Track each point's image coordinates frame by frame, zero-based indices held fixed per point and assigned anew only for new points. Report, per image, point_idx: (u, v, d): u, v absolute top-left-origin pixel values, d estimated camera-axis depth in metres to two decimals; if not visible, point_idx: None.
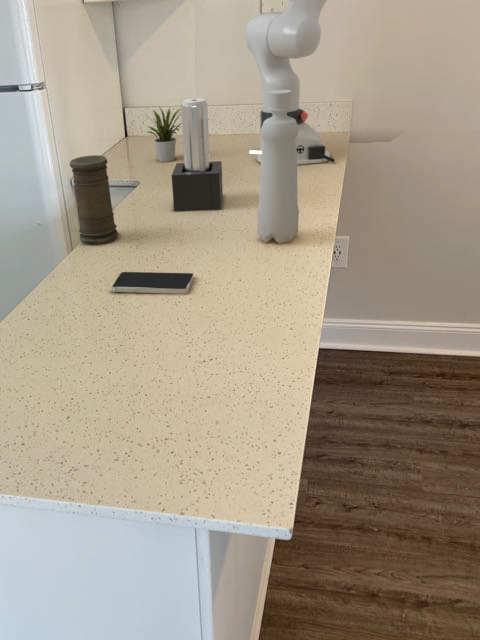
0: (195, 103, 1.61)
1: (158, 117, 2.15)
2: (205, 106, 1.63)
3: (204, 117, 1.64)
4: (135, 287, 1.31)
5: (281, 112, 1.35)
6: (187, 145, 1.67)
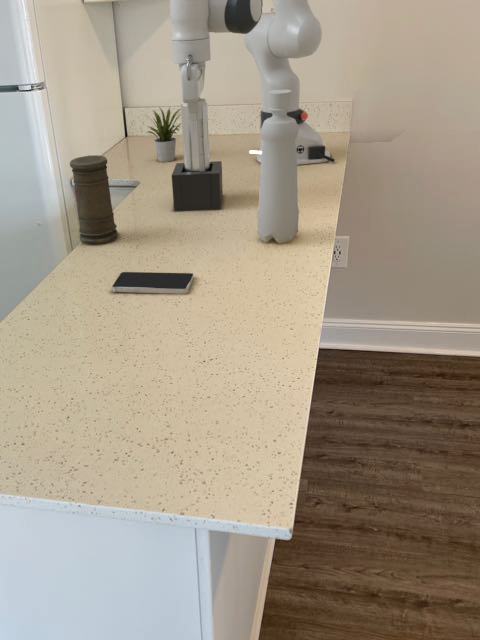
0: None
1: (158, 117, 2.15)
2: (205, 106, 1.63)
3: (204, 117, 1.63)
4: (135, 287, 1.31)
5: (281, 112, 1.35)
6: (187, 145, 1.67)
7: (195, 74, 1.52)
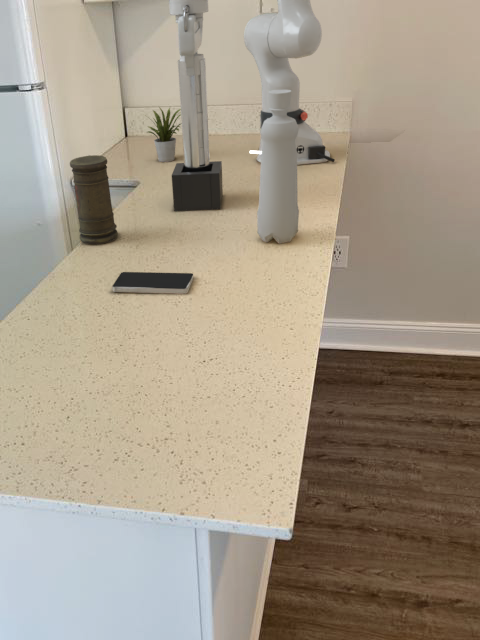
0: None
1: (158, 117, 2.15)
2: (203, 61, 1.57)
3: (202, 73, 1.58)
4: (135, 287, 1.31)
5: (281, 112, 1.35)
6: (185, 103, 1.62)
7: (192, 25, 1.46)
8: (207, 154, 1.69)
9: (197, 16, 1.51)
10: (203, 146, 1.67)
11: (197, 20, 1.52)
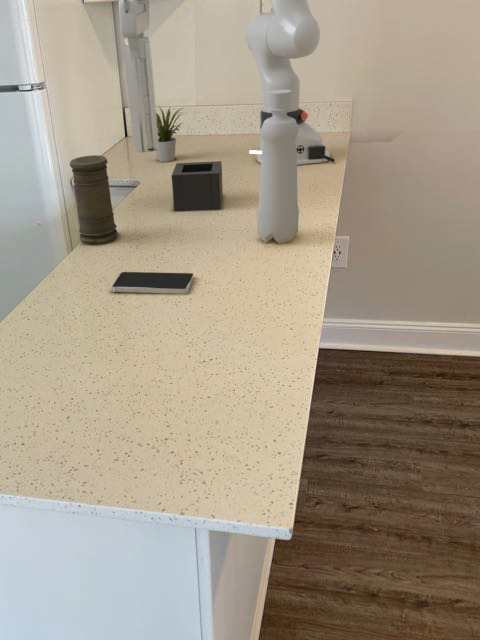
0: None
1: (158, 117, 2.15)
2: (147, 44, 1.57)
3: (147, 56, 1.58)
4: (135, 287, 1.31)
5: (281, 112, 1.35)
6: (131, 86, 1.62)
7: (133, 6, 1.46)
8: (155, 138, 1.69)
9: None
10: (151, 130, 1.67)
11: (140, 2, 1.52)
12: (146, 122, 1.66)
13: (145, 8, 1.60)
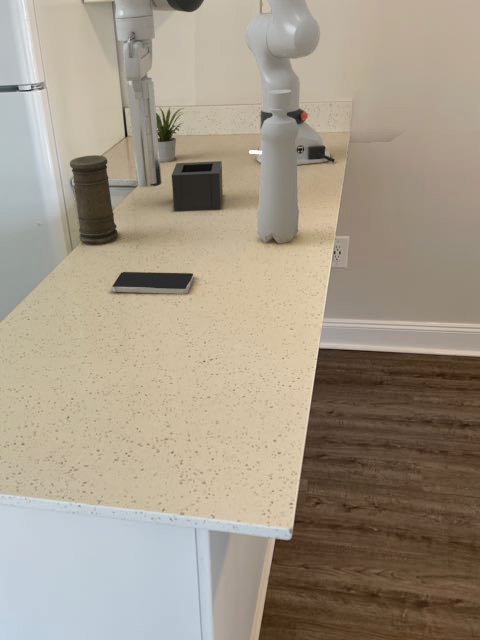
0: None
1: (158, 117, 2.15)
2: (151, 85, 1.62)
3: (150, 96, 1.63)
4: (135, 287, 1.31)
5: (281, 112, 1.35)
6: (134, 125, 1.67)
7: (137, 51, 1.51)
8: (158, 173, 1.74)
9: (143, 42, 1.56)
10: (154, 166, 1.72)
11: (143, 46, 1.57)
12: (149, 159, 1.71)
13: (148, 49, 1.65)
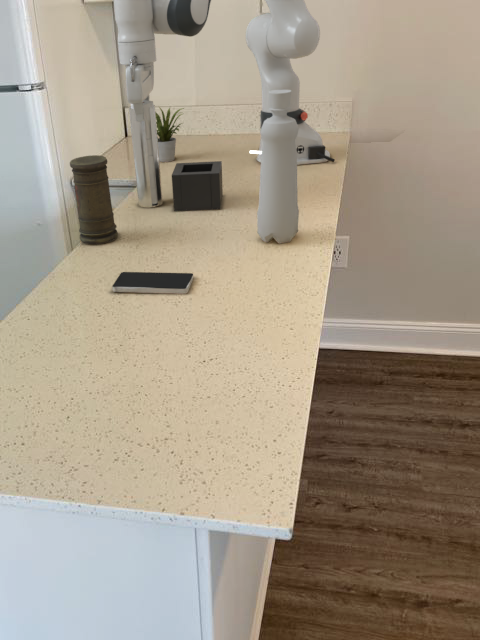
0: None
1: (158, 117, 2.15)
2: (152, 108, 1.65)
3: (152, 119, 1.66)
4: (135, 287, 1.31)
5: (281, 112, 1.35)
6: (136, 147, 1.69)
7: (139, 75, 1.54)
8: (159, 194, 1.77)
9: (145, 66, 1.59)
10: (155, 187, 1.75)
11: (145, 69, 1.59)
12: (150, 180, 1.74)
13: (150, 71, 1.68)
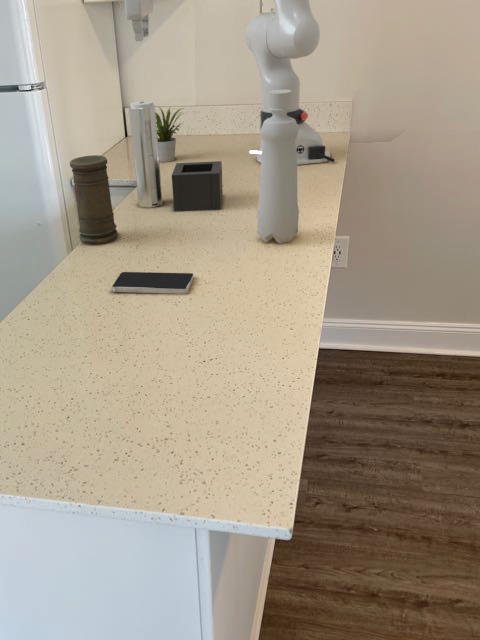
0: (142, 105, 1.64)
1: (158, 117, 2.15)
2: (152, 108, 1.65)
3: (151, 119, 1.66)
4: (135, 287, 1.31)
5: (281, 112, 1.35)
6: (136, 147, 1.69)
7: None
8: (159, 194, 1.77)
9: None
10: (155, 187, 1.75)
11: None
12: (150, 180, 1.74)
13: None
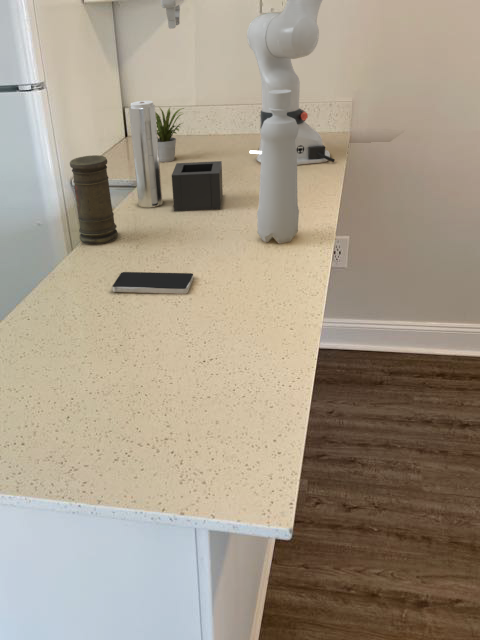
0: (142, 105, 1.64)
1: (158, 117, 2.15)
2: (152, 108, 1.65)
3: (151, 119, 1.66)
4: (135, 287, 1.31)
5: (281, 112, 1.35)
6: (136, 147, 1.69)
7: None
8: (159, 194, 1.77)
9: None
10: (155, 187, 1.75)
11: None
12: (150, 180, 1.74)
13: None
